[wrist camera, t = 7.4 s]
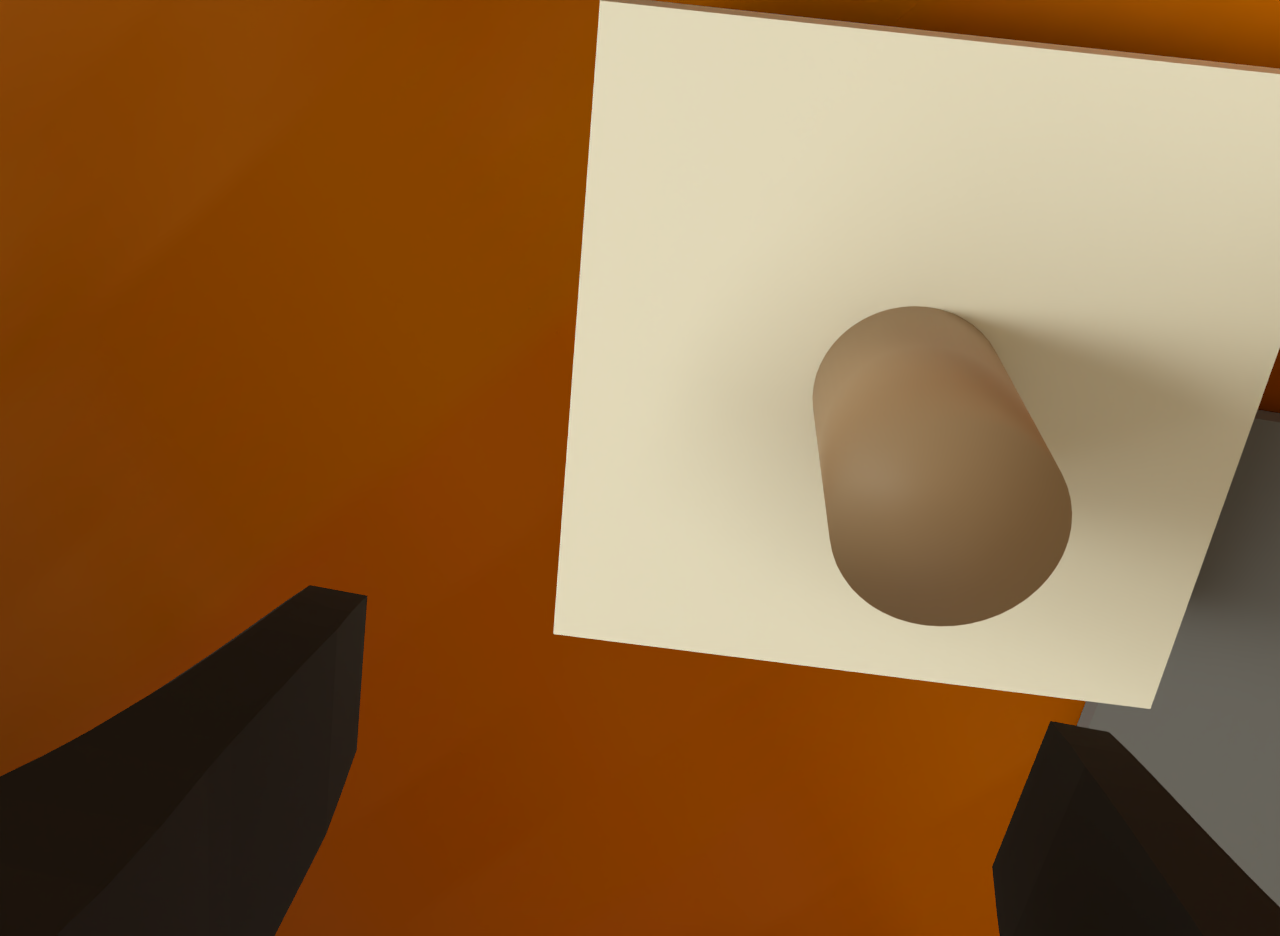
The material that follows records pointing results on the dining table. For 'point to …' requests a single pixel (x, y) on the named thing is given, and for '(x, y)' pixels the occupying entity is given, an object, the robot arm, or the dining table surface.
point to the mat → (1224, 677)
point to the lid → (912, 346)
